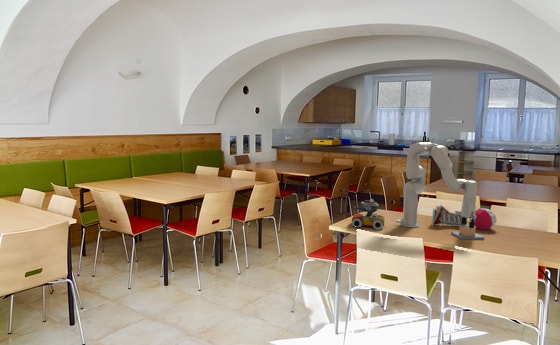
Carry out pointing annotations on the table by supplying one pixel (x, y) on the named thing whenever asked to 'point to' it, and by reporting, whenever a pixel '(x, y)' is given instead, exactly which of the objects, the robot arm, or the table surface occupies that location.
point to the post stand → (460, 236)
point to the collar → (467, 231)
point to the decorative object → (485, 219)
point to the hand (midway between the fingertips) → (467, 226)
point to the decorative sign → (446, 217)
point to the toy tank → (368, 215)
